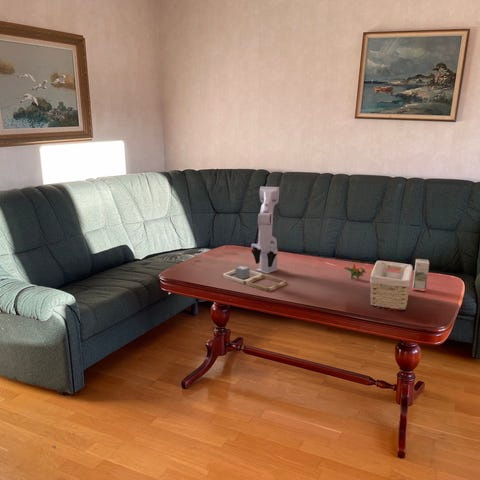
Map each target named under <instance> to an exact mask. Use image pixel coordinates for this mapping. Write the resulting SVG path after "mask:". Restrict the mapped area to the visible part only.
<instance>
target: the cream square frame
mask: <svg viewBox="0 0 480 480" xmlns="http://www.w3.org/2000/svg"><path fill="white" fill-rule="evenodd" d="M235 272H236V269H234V270H230V271H227V272H224V273H221V278H224V279H227V280H230V281H233V282H237V283H239V284H243V285H245V281H247V280H249V279H252V278H255V277H257V276H260V275H262V274H263V273H261V272H259V271H254V270H250V272H249V275H253V276H251V277H248V278H245V279H240V278H237V277H234V276H231V275H234V274H235Z"/></svg>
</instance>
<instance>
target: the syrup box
mask: <svg viewBox="0 0 480 480" xmlns="http://www.w3.org/2000/svg"><path fill="white" fill-rule="evenodd" d="M414 264H415V265H414V270H413V271H414V272H413V279H412V289H413V288H416V289H426V290H427V283H428V276H429V269H430V267H429V266H430V261H429V259H421V258H416V259H415V263H414Z"/></svg>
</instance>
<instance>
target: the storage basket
mask: <svg viewBox="0 0 480 480" xmlns="http://www.w3.org/2000/svg"><path fill="white" fill-rule="evenodd" d="M389 268H390V269H396V270H397V269H399V270H400V272H393V271H388V269H389ZM413 268H414V267H413V265H412V264H410V263H409V264H407V263H403V262H402V263H401V262H395V261H394V262H393V261H385V260H376V262H375V264H374V267H373V268H372V270H371V274H370V280H369V281H370V306H371V305H374V306H382V307H390V308H396V309H399V308H401V309H405V310H406V308H407V304H408V302H407V301H408V299H409V292H410V291H409V290H410V286H411V281H412V275H413V271H414V270H413Z"/></svg>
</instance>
